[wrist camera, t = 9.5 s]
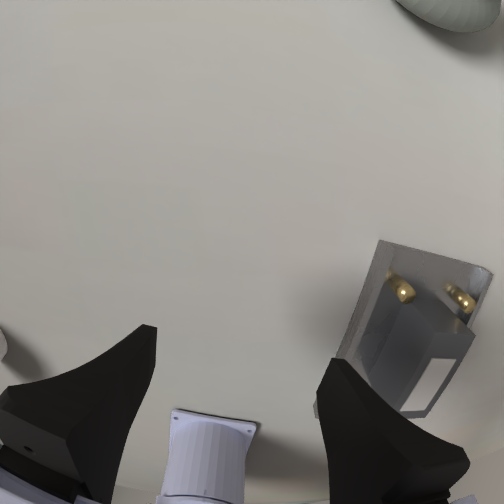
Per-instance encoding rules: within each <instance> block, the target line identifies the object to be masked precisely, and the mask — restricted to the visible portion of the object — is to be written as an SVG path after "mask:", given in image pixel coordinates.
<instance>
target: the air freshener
mask: <svg viewBox="0 0 504 504" xmlns="http://www.w3.org/2000/svg"><path fill="white" fill-rule="evenodd" d="M396 1H397V2H399V3H400V4H401V5H402V6H404V7H405V8H406V9H407V10H409V11H410V12H412V13H413V14H415V15H416V16H418V17H420V18H421V19H423V20H425V21H427V22H428V23H431V24H433V25H435V26H438V27H440V28H443V29H447V30H450V31H455V32H462V33H468V32H477V31H480V30H483V29H485V28H487V27H488V26H490V25H491V24H492V23H493V22H494V21H495V20H496V18H497V17H498V15H499V11H500V7H501V0H396Z"/></svg>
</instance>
